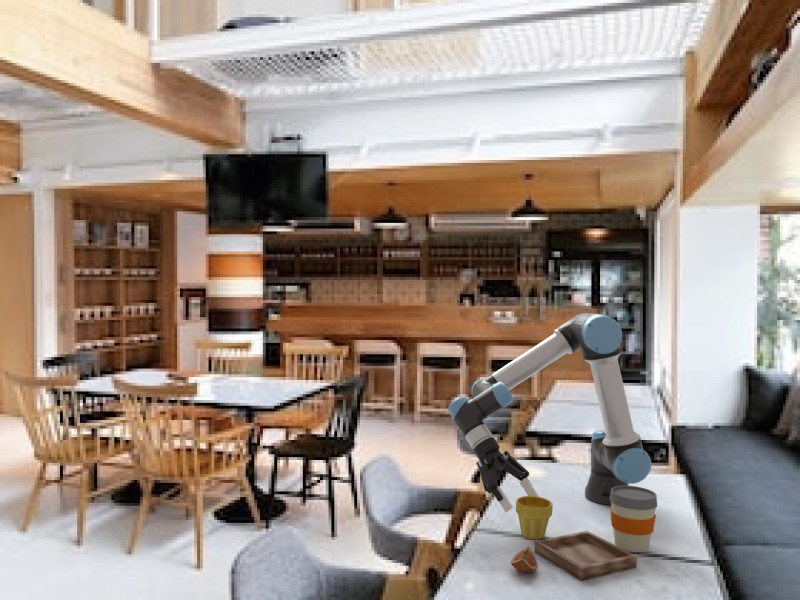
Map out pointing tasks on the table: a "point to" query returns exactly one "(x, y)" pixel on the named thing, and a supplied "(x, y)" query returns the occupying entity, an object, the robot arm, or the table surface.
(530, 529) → the plant pot
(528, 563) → the fruit slice
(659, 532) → the table surface
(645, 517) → the reusable coffee cup
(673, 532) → the table surface
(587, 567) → the walnut tray
